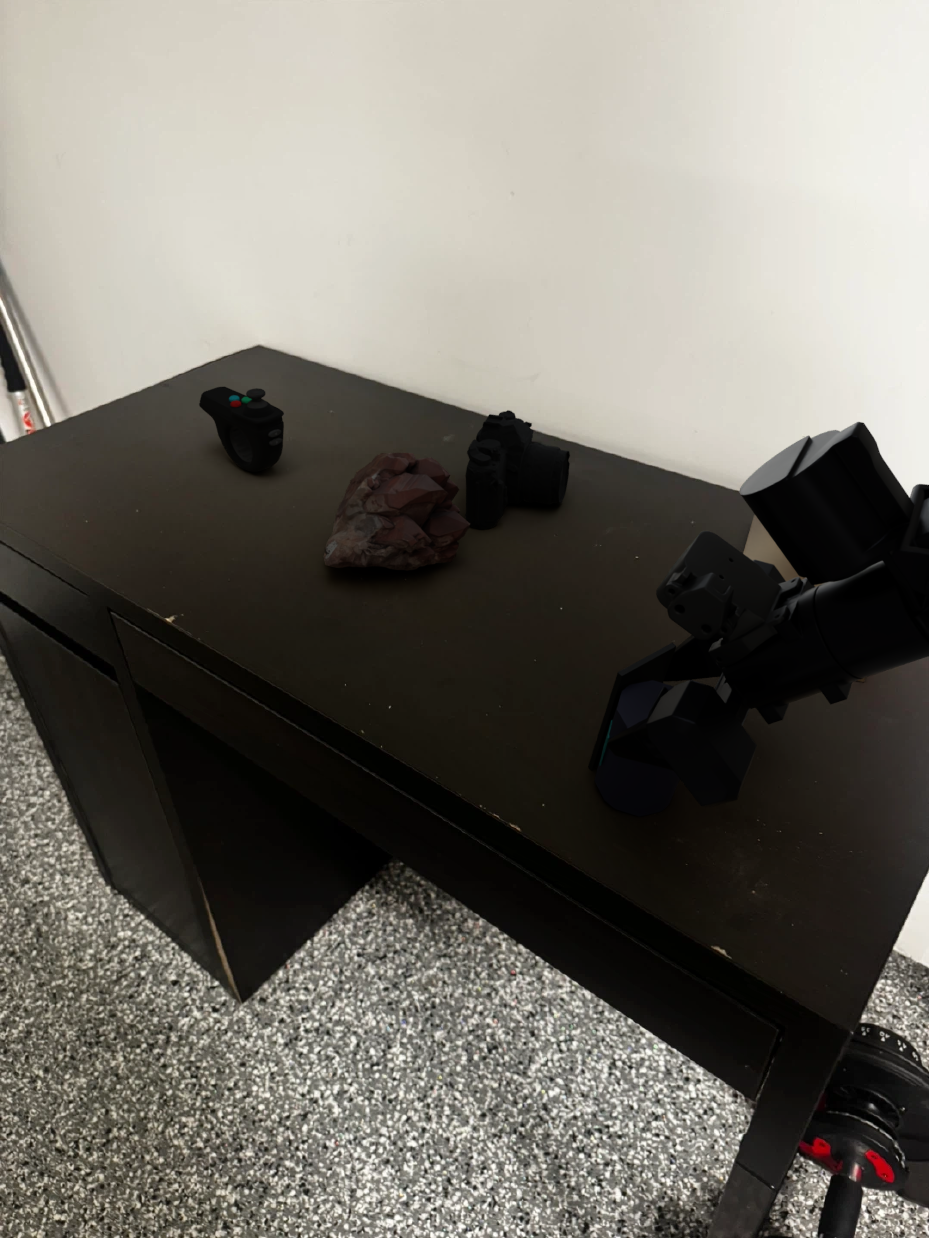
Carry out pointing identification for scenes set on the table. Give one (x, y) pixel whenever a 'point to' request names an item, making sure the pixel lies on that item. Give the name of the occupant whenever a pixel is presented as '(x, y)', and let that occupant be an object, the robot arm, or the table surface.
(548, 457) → the film camera
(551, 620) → the table surface
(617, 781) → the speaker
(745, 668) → the robot arm
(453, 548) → the mineral specimen
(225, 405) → the controller
